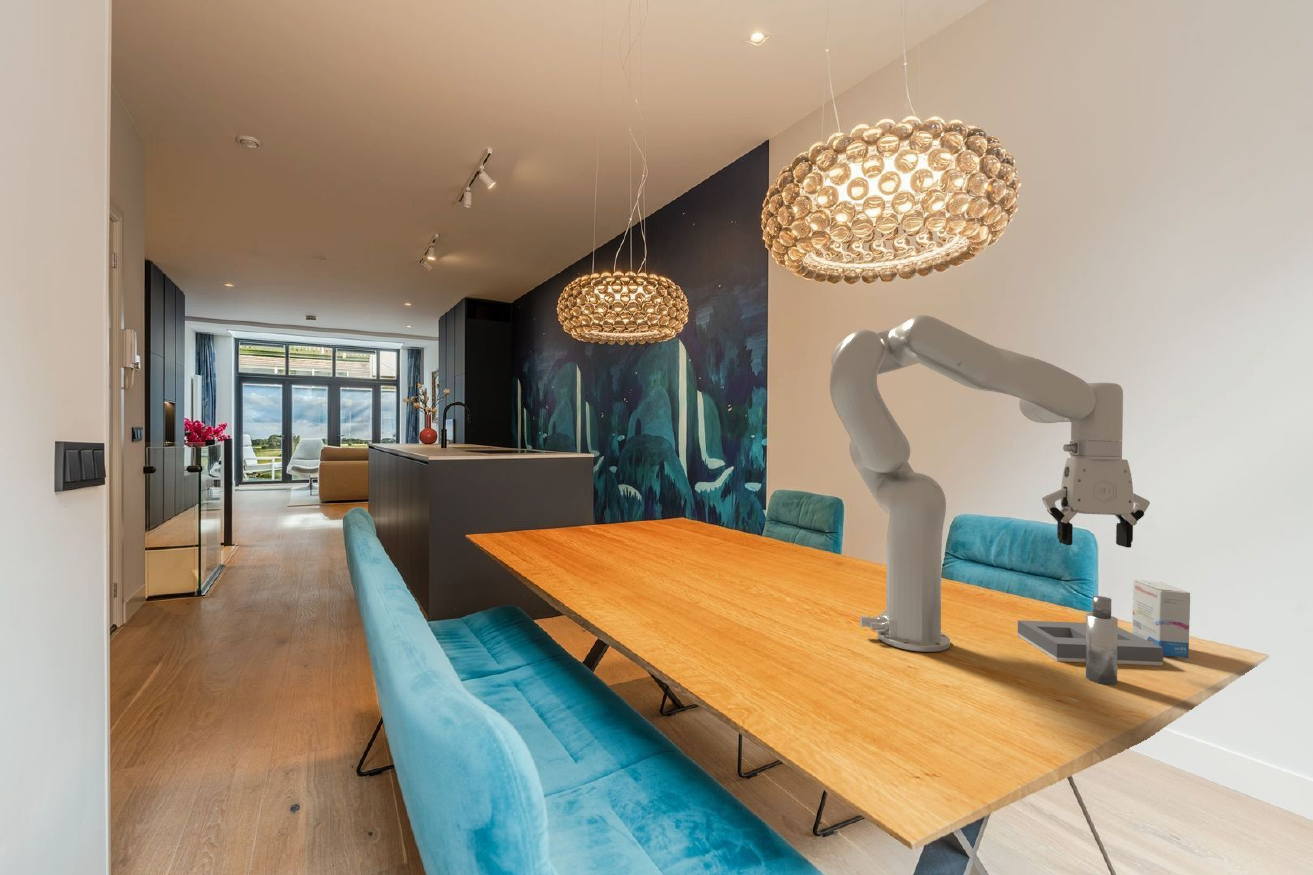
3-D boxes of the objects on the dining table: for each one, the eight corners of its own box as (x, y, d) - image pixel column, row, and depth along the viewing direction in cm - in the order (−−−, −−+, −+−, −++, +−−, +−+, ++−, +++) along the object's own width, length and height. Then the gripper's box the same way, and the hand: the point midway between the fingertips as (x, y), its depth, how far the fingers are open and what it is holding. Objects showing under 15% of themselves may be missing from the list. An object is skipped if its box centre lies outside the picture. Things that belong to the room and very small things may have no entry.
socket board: (1056, 660, 101) (1057, 643, 101) (1017, 635, 114) (1017, 620, 114) (1162, 665, 100) (1163, 647, 100) (1111, 639, 113) (1111, 623, 113)
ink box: (1191, 658, 103) (1192, 591, 103) (1158, 656, 104) (1159, 589, 104) (1160, 642, 111) (1161, 579, 111) (1130, 640, 112) (1130, 578, 112)
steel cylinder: (1095, 684, 92) (1096, 600, 92) (1079, 673, 96) (1080, 594, 96) (1123, 685, 91) (1124, 601, 91) (1106, 675, 95) (1106, 595, 95)
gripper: (1055, 450, 104) (1053, 546, 104) (1163, 452, 102) (1161, 551, 102) (1034, 449, 112) (1032, 539, 112) (1134, 451, 109) (1133, 543, 109)
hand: (1094, 545), depth 107 cm, fingers open, 9 cm apart
